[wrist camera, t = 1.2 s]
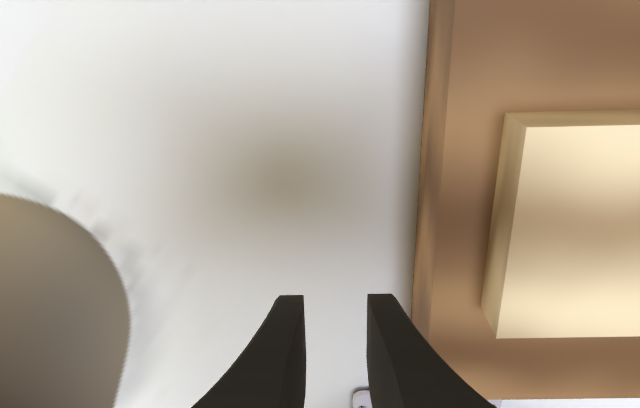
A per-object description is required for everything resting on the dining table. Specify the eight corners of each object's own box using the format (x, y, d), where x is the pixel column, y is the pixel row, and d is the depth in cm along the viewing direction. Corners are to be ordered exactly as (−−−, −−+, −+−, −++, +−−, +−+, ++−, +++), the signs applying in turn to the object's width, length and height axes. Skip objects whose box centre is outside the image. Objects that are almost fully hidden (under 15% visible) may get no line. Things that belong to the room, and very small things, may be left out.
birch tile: (629, 304, 20) (659, 336, 18) (480, 306, 20) (495, 338, 18) (681, 108, 17) (724, 122, 15) (504, 112, 17) (526, 127, 15)
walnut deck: (641, 338, 26) (694, 397, 22) (409, 342, 26) (423, 400, 22) (753, -50, 19) (860, -60, 15) (432, -42, 19) (458, -49, 15)
